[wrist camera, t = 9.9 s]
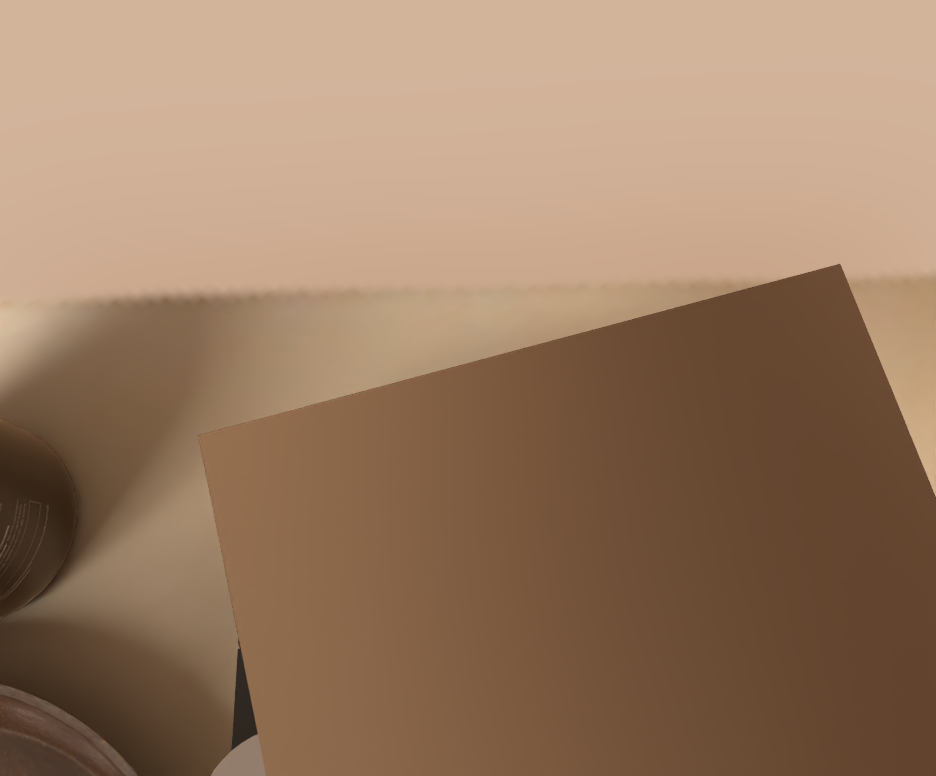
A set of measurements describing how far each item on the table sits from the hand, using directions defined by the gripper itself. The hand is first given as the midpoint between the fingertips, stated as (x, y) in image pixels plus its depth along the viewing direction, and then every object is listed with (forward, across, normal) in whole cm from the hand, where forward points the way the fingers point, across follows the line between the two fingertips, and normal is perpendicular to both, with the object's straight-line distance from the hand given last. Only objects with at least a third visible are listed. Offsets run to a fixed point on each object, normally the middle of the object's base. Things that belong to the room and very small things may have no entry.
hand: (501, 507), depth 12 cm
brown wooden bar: (+2, 0, +5) cm, 5 cm away
